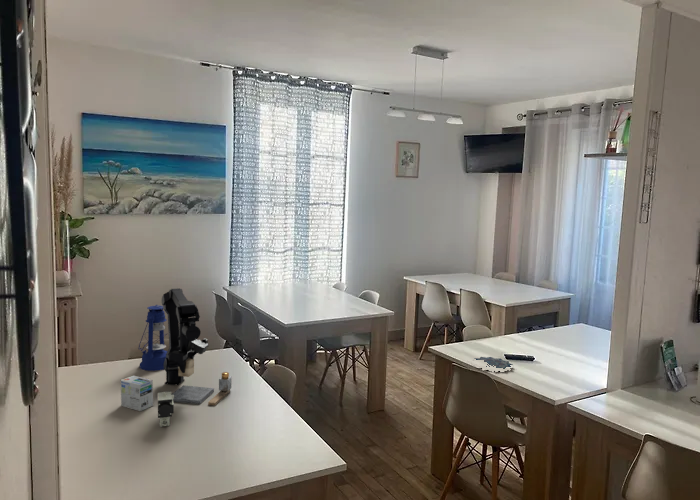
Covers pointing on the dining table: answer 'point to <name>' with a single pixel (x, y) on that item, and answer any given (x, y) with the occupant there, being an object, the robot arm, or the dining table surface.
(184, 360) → the robot arm
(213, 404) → the press bed
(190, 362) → the housing block
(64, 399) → the dining table surface
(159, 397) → the pneumatic valve
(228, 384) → the grey and brass block
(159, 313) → the lantern
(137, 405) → the light bulb box
